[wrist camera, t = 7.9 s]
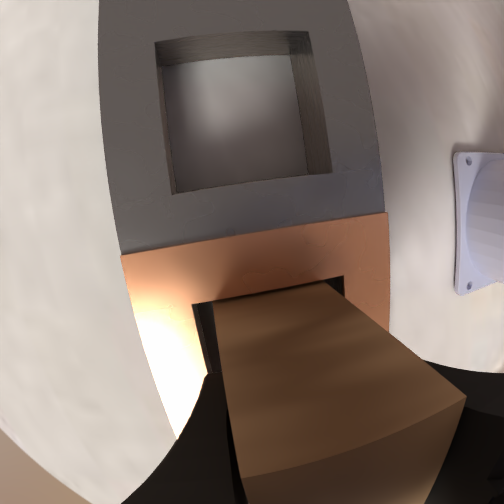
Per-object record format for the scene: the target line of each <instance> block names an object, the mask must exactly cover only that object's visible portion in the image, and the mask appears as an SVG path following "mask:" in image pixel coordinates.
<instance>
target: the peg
mask: <svg viewBox="0 0 504 504" xmlns="http://www.w3.org/2000/svg"><path fill="white" fill-rule="evenodd" d="M212 303H213V311H214V319H215V326H216V333H217V340H218V347H219V354H220V361H221V367H222V374H223V380H224V386H225V393H226V399H227V405H228V411H229V417H230V423H231V428H232V434H233V439H234V445H235V450H236V456H237V461H238V466H239V471H240V477H241V480H242V484H243V487H244V490H245V493H246V496H247V499H248V502H249V504H424V502H425V501H426V499H427V497H428V495H429V493H430V491H431V489H432V486H433V484H434V482H435V480H436V478H437V476H438V474H439V471H440V469H441V467H442V464H443V462H444V460H445V457H446V455H447V452H448V450H449V447H450V445H451V442H452V439H453V437H454V434H455V431H456V428H457V426H458V423H459V420H460V417H461V414H462V410H463V407H464V404H465V401H466V397H467V396H466V395H465V394H463V393H462V392H461V391H460V390H459V389H457V388H456V387H455V386H454V385H453V384H451V383H450V382H449V381H448V380H447V379H445V378H444V377H443V376H442V375H440V374H439V373H438V372H437V371H436V370H434V369H433V368H432V367H431V366H430V365H428V364H427V363H426V362H425V361H423V360H422V359H421V358H420V357H418V356H417V355H416V354H415V353H414V352H412V351H411V350H410V349H409V348H407V347H406V346H405V345H404V344H402V343H401V342H400V341H399V340H397V339H396V338H395V337H394V336H392V335H391V334H390V333H389V332H387V331H386V330H385V329H384V328H382V327H381V326H380V325H379V324H377V323H376V322H375V321H374V320H372V319H371V318H370V317H369V316H367V315H366V314H365V313H364V312H362V311H361V310H360V309H359V308H357V307H356V306H355V305H354V304H352V303H351V302H350V301H348V300H347V299H346V298H345V297H343V296H342V295H341V294H340V293H338V292H337V291H336V290H334V289H333V288H332V287H331V286H329V285H328V284H327V283H325V282H324V281H323V280H318V281H314V282H309V283H304V284H299V285H294V286H289V287H284V288H278V289H273V290H268V291H263V292H257V293H252V294H247V295H241V296H236V297H230V298H225V299H219V300H213V301H212Z"/></svg>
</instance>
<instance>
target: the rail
mask: <svg viewBox="0 0 504 504" xmlns="http://www.w3.org/2000/svg"><path fill="white" fill-rule="evenodd" d="M261 55H290V58H291V63H292V69H293V74H294V80H295V85H296V91H297V97H298V103H299V110H300V116H301V122H302V129H303V136H304V143H305V150H306V157H307V165H308V173H309V175H300V176H291V177H283V178H275V179H267V180H259V181H252V182H245V183H238V184H231V185H224V186H218V187H211V188H205V189H199V190H193V191H187V192H181V193H177V190H176V183H175V177H174V170H173V162H172V155H171V148H170V140H169V132H168V124H167V115H166V106H165V97H164V87H163V77H162V66H168V65H174V64H180V63H187V62H194V61H202V60H210V59H220V58H231V57H244V56H261ZM98 72H99V95H100V110H101V123H102V134H103V144H104V153H105V161H106V169H107V176H108V183H109V190H110V196H111V202H112V208H113V214H114V220H115V225H116V230H117V235H118V240H119V245H120V250H121V256H120V258H121V262H122V267H123V271H124V275H125V280H126V284H127V288H128V292H129V296H130V300H131V303H132V307H133V311H134V315H135V318H136V322H137V325H138V329H139V332H140V335H141V339H142V342H143V345H144V349H145V352H146V355H147V358H148V361H149V364H150V367H151V370H152V373H153V376H154V379H155V382H156V385H157V388H158V390H159V393H160V396H161V399H162V401H163V404H164V407H165V409H166V412H167V415H168V417H169V420H170V422H171V425H172V427H173V430H174V432H175V435H176V437H177V438H178V437H179V435H180V433H181V431H182V430H183V428H184V426H185V424H186V422H187V420H188V418H189V416H190V414H191V412H192V410H193V407H194V405H195V403H196V401H197V398H198V395H199V393H200V390H201V387H202V384H203V380H204V377H205V376H206V375H207V374H211V373H212V368H211V364H210V360H209V356H208V352H207V347H206V343H205V338H204V334H203V329H202V325H201V320H200V316H199V311H198V306H197V303H202V302H207V301H213V300H219V299H225V298H230V297H236V296H241V295H247V294H252V293H257V292H263V291H268V290H273V289H278V288H284V287H289V286H294V285H299V284H304V283H309V282H314V281H318V280H323V281H324V282H325V283H327V284H328V285H329V286H331V287H332V288H333V289H334V290H336V291H337V292H338V293H340V294H341V295H342V296H343V297H345V298H346V299H347V300H348V301H350V302H351V303H352V304H354V305H355V306H356V307H357V308H359V309H360V310H361V311H362V312H364V313H365V314H366V315H367V316H369V317H370V318H371V319H372V320H374V321H375V322H376V323H377V324H379V325H380V326H381V327H382V328H384V329H385V330H386V331H387V332H389V314H390V247H389V224H388V212H385V206H384V193H383V182H382V172H381V163H380V155H379V147H378V140H377V133H376V126H375V120H374V114H373V108H372V102H371V97H370V91H369V86H368V81H367V76H366V72H365V67H364V63H363V58H362V54H361V50H360V46H359V42H358V38H357V34H356V30H355V26H354V23H353V19H352V15H351V12H350V9H349V5H348V2H347V0H99V20H98Z"/></svg>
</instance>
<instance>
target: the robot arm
mask: <svg viewBox="0 0 504 504" xmlns="http://www.w3.org/2000/svg"><path fill="white" fill-rule="evenodd" d="M466 159H467V163H466ZM453 164H454V175H455V190H456V213H457V252H456V275H455V292H456V293H457V294H458V295H460V296H463V295H466V294H468V293H471V292H473V291H476V290H478V289H481V288H483V287H486V286H488V285H491V284H493V283H495V282H500V283H503V284H504V153H490V152H456V153H455V154H454V157H453ZM467 284H468V285H467ZM423 361H425V360H423ZM425 362H426V363H427V364H428V365H430V366H431V367H432V368H433V369H434V370H436V371H437V372H438V373H439V374H440V375H442V376H443V377H444V378H445V379H447V380H448V381H449V382H450V383H451V384H453V385H454V386H455V387H456V388H457V389H459V390H460V391H461V392H462V393H463V394H465V395H466V396H467V397H466V401H465V404H464V407H463V410H462V414H461V417H460V420H459V423H458V426H457V428H456V431H455V434H454V437H453V439H452V442H451V445H450V447H449V450H448V452H447V455H446V457H445V460H444V462H443V464H442V467H441V469H440V471H439V474H438V476H437V478H436V480H435V482H434V484H433V486H432V489H431V491H430V493H429V495H428V497H427V499H426V501H425V502H424V504H504V373H488V372H476V371H469V370H463V369H457V368H452V367H448V366H443V365H439V364H436V363H432V362H429V361H425ZM121 504H249V503H248V499H247V496H246V493H245V490H244V487H243V484H242V480H241V477H240V471H239V466H238V461H237V456H236V450H235V445H234V439H233V434H232V428H231V423H230V417H229V411H228V405H227V399H226V393H225V386H224V380H223V374H222V372H217V373H211V374H207V375H206V376H205V377H204V380H203V384H202V387H201V390H200V393H199V395H198V398H197V401H196V403H195V405H194V407H193V410H192V412H191V414H190V416H189V418H188V420H187V422H186V424H185V426H184V428H183V430H182V431H181V433H180V435H179V437H178V438H177V440H176V442H175V443H174V445H173V446H172V448H171V449H170V451H169V452H168V454H167V455H166V456H165V458H164V459H163V460H162V462H161V463H160V464H159V465H158V467H157V468H156V469H155V470H154V471H153V473H152V474H151V475H150V476H149V477H148V478H147V479H146V481H145V482H144V483H143V484H142V485H141V486H140V487H139V488H137V489H136V490H135V491H134V492H133V493H132V494H131V495H130V496H129V497H128V498H127V499H126V500H125V501H123V502H122V503H121Z"/></svg>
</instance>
